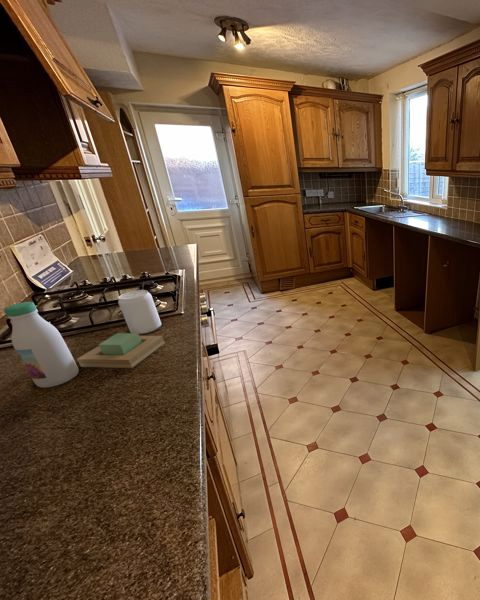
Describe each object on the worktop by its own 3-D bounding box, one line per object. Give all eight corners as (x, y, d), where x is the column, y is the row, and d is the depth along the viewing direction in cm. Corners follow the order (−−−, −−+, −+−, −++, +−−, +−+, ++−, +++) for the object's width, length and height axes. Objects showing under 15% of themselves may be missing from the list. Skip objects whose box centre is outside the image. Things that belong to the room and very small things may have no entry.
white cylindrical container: (150, 335, 98) (136, 299, 93) (124, 335, 98) (109, 300, 93) (167, 323, 105) (156, 289, 101) (143, 323, 106) (130, 289, 101)
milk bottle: (79, 365, 84) (43, 295, 76) (80, 378, 79) (42, 305, 71) (37, 378, 80) (-6, 305, 71) (36, 393, 74) (-11, 316, 66)
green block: (104, 357, 86) (98, 344, 84) (123, 345, 91) (117, 333, 90) (125, 357, 86) (120, 345, 84) (143, 345, 91) (138, 333, 89)
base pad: (80, 366, 84) (76, 358, 83) (119, 342, 95) (116, 335, 94) (132, 368, 83) (128, 360, 82) (165, 343, 94) (162, 335, 93)
